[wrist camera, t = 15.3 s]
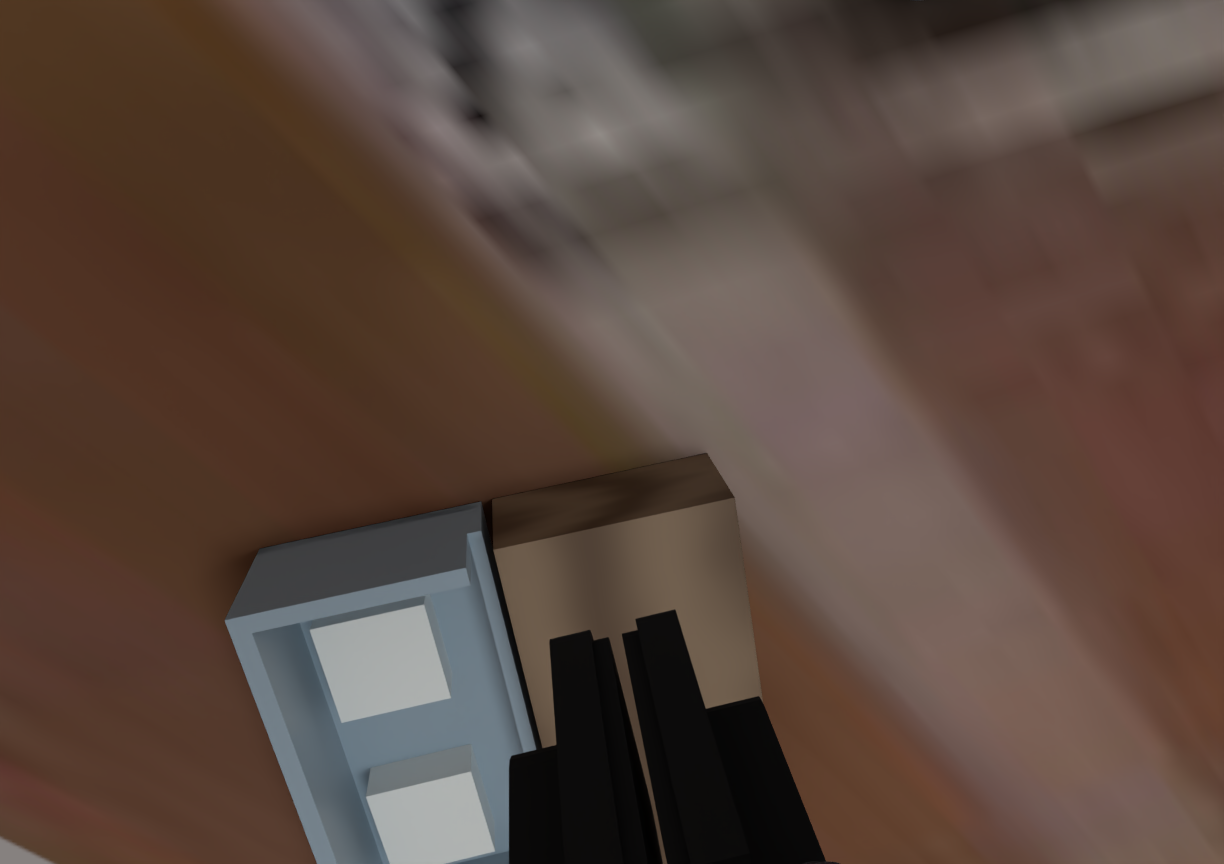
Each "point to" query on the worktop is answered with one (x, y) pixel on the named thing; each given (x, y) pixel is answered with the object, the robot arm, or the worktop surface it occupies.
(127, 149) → the worktop surface
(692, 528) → the tan slab
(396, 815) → the tile
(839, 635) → the worktop surface
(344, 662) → the tile
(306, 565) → the box
